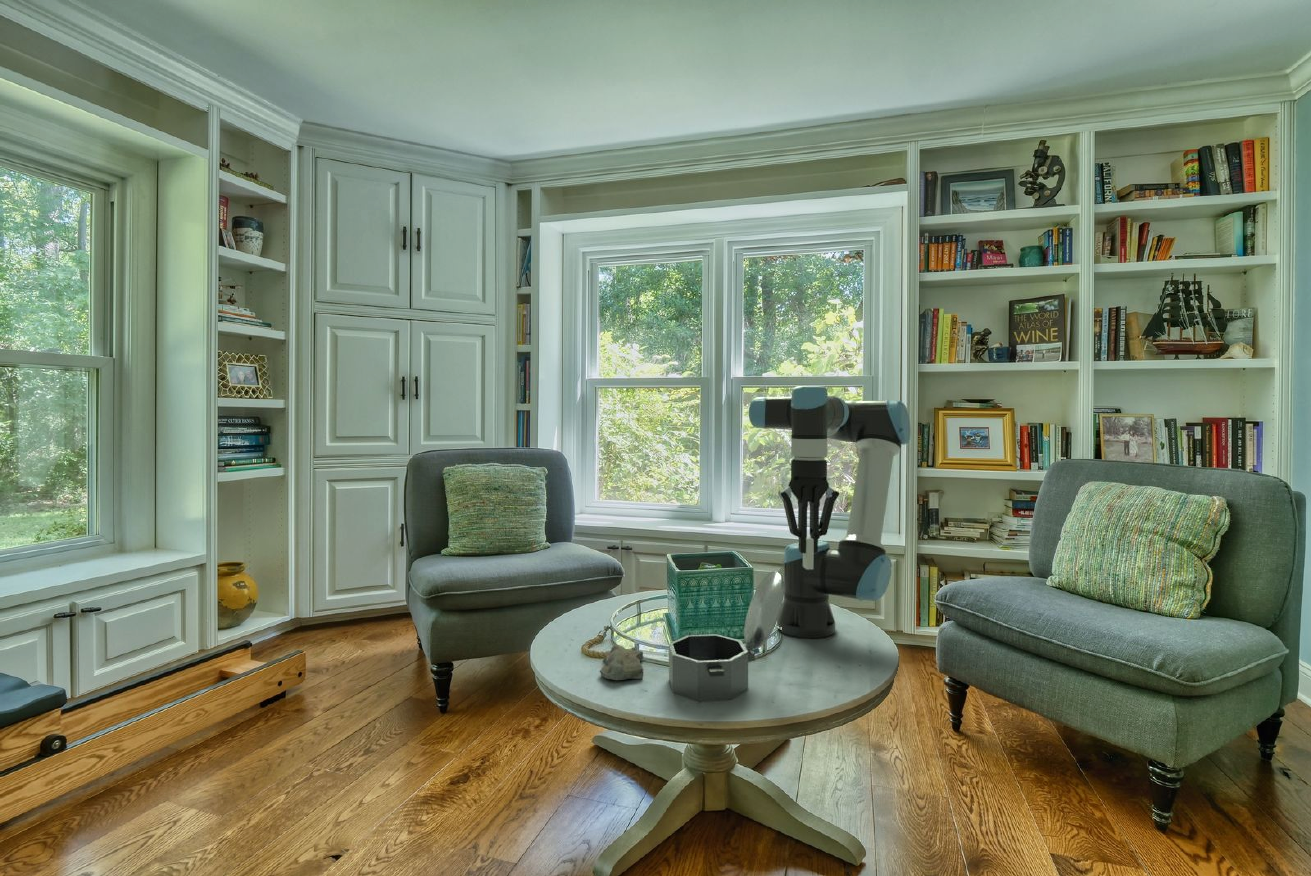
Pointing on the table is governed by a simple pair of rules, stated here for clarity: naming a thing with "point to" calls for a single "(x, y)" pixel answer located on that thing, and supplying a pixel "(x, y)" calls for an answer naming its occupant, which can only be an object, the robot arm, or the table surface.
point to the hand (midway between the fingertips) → (808, 567)
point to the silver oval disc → (764, 610)
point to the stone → (622, 664)
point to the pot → (709, 667)
